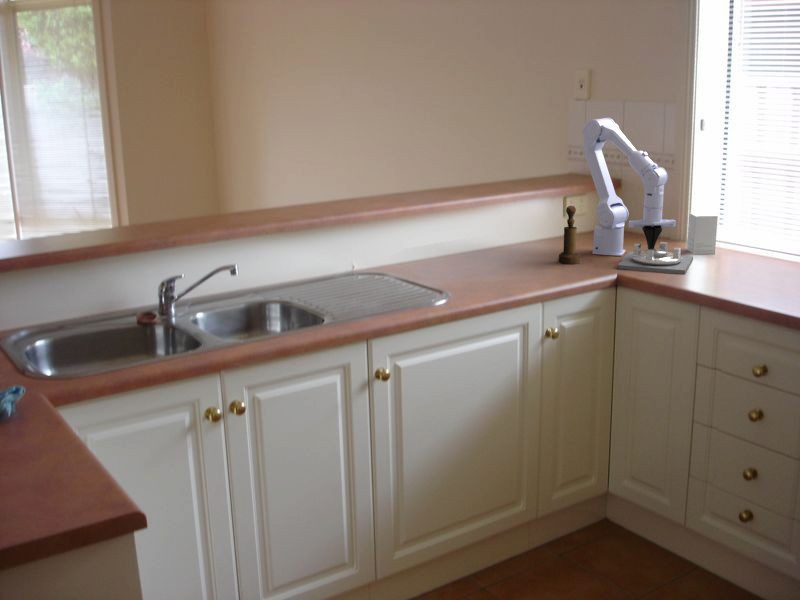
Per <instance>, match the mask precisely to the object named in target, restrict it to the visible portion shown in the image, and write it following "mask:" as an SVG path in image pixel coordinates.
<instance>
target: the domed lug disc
mask: <svg viewBox="0 0 800 600" xmlns="http://www.w3.org/2000/svg"><path fill="white" fill-rule="evenodd" d="M641 248H642V244H641V243H634V244H633V251H632V252H633V254H632V260H633V261H635V262H638V263H642V264H649V265H673V264H678V263H680V262H681V258H682V257H681V255H682V254H681V253H682V252H681V249H682V248H681V247H674V248H673V252H670V251H668V241H667V242H666V241H665V242H664V241H660V242H659V248H654V249H648V248H647V249H646V250H642V249H641Z"/></svg>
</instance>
